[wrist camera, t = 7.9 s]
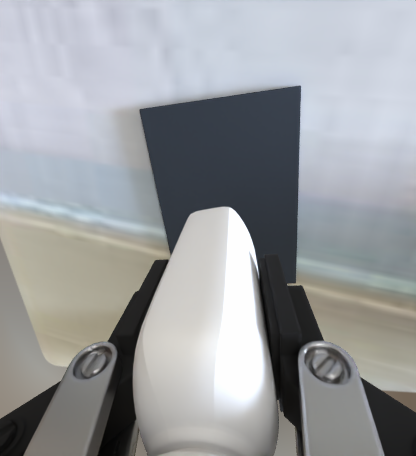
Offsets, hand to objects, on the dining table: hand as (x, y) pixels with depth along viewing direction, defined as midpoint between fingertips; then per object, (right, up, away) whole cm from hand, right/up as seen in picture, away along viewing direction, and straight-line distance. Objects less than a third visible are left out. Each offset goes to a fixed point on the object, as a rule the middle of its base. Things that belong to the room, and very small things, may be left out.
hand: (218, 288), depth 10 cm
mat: (+2, +5, +16) cm, 16 cm away
